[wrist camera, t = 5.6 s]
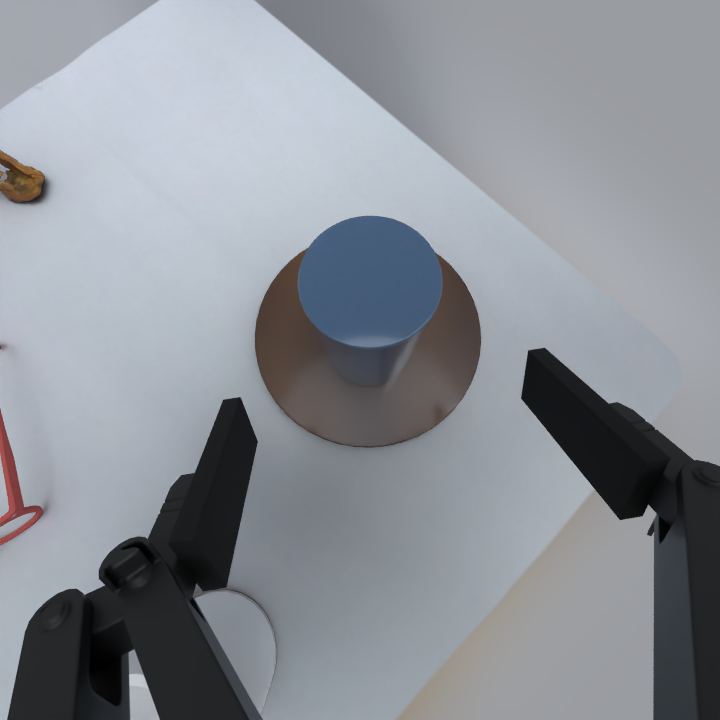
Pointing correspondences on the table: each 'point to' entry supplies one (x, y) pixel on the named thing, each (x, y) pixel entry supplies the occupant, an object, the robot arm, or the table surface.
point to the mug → (237, 638)
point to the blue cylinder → (369, 296)
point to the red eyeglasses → (13, 488)
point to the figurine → (20, 180)
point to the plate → (366, 403)
